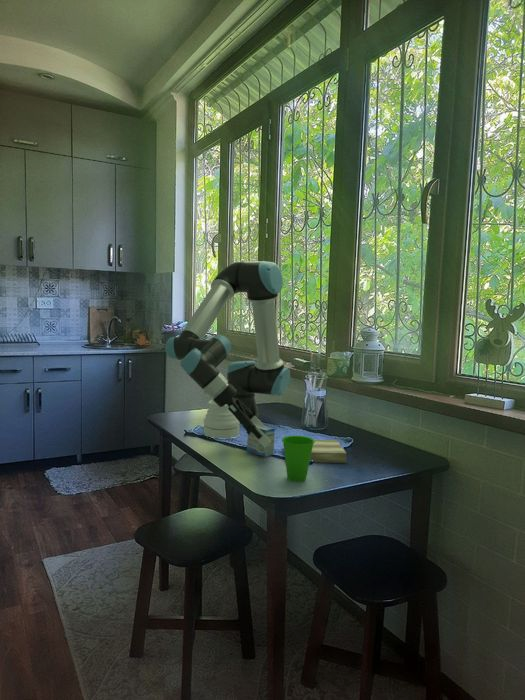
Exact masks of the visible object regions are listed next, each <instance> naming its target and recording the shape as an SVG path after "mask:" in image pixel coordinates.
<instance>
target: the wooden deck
mask: <svg viewBox="0 0 525 700" xmlns="http://www.w3.org/2000/svg"><path fill="white" fill-rule="evenodd" d="M314 441H315V443H313V448H312V452H311V457H310V460H313V461H314V462H313V463H338V464H339V463H341V464H342V463H344V464H346V463H347V451H346V450H345V448H343V446H342V445H341V444H340V442H339V441H338V440H337V439H314ZM283 447H284V444H283V446H282V448H283Z"/></svg>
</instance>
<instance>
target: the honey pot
mask: <svg viewBox="0 0 525 700" xmlns="http://www.w3.org/2000/svg"><path fill="white" fill-rule="evenodd" d="M213 398H214V397H212V399H211V400H208V401H207V403H208V406H209V407H208V409H207V410H206V414H205V417H204V419H203V435H204V434H205V435H207V436H209V437H214V438H231V437H236V436H238V435H239V436H240V424H241V423H240V422H239V421H238V420H237V418H236V417H235V416H234V415H233V414H232V413H231V411H229V409H228V408H229V406H228V405H227V404H225V405H224V406H223V407H219V406H218V405H217V404H216V403H215V402H214V401H213ZM239 436H238V437H239ZM236 438H237V437H236Z"/></svg>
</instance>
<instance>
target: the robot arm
mask: <svg viewBox="0 0 525 700" xmlns="http://www.w3.org/2000/svg"><path fill="white" fill-rule="evenodd" d="M283 280H284V279H283V273H282V270H281V268H280V267H279V266H278V264H277V263H275V262H272V261H265V260H261V261H256V260H255V261H236V262H233V263H231V264H230V265H228V266H226V267H225V268H223V269H222V270H221V271H219V273H218V274H217V275H216V276H215V277H214V278H213V280H212V282H211V283H210V289H209V291H208V293H207V294H206V295H205V296H204V298H203V300H202V301H201V303H200V304H199V306H198V307H197V309H196V310H195V312H194V313H193V315H192V316H191V318H190V319H189V320H188V322H187V323H186V325H185V326H184V328H183V329H182V331H181V332H180V334H179V335H178V336H171V337H170V338H168V339H167V340H166V343H165V347H164V348H165V353H166V355H167V357H169V359H173V360H179V365H180V367H181V368H182V369H183V371H184V372H185V373H186V374H187V375H188V376H189V377H190V378H191V379H192V380H193V382H195V383H196V384H197V385H198V386H199V387H200V389H202V390H203V394H204V395H208V396H209V398H212V399H213V401H214V402H215V403H216V404H217V405H218V406H219V407H223V406H224V405H225V404H227V405H228V406H229V408H228V409H229V411H231V413H232V414H233V415H234V416H235V417H236V418H237V420H238V421H239V422H240V423H239V424H241V426H242V427H243V428H244V429H245V431H246V432H245V433H246V434H247V435H248V434H250V433H251V434H252V435H253V436H254V437H255V438H256V439H257V440H258V442H259V443H260V444H261V445H262V446H263V447H264V448H265V447H266V446H267V445H268V444H269V443H270V442H271V441H270V440H269V439H268V438H267V437H266V436H265V434H264V433H263V432H262V431H261V430H260V429H259V428H258V427H257V426H255V425H254V424H258V425H262V426H265V425H264V424H263V422H262V421H261V420H260V419H258V417H259V409H258V405H257V401H256V398H255V394H257V395H265V396H271V397H281V396H283V395H285V393H286V392H287V390H288V388H289V386H290V381H291V371H290V369H289V368H288V367H285V362H284V360H283V359H281V358H280V348H279V339H278V338H279V337H278V327H277V315H276V314H277V313H276V305H275V301H276V299H277V298H278V297H279V293H280V292H281V291H282V288H283V285H284V283H283V282H284V281H283ZM238 293H244V294H245V293H246V298H247V300H248V301H249V302H250V303H251V306H252V307H251V308H252V315H253V325H254V333H255V334H254V335H255V344H256V354H257V360H239V361H234V362H233V361H232V362H230V363H228V366H227V372H226V374H227V375H226V377H227V378H226V377H225V376H224V375H223V374H222V373H221V372H220V371H219V370H218V366H219V365H220V364H221V363H222V362H223V361H224V360H225V359H226V358H227V357H228V355H229V354H230V352H231V351H232V344H231V341H230V340H229V339H228V337H226V336H225V335H222V334H217V335H214V336H213V337H212V338H211V339H204V338H205V337H206V335H207V333H208V332H209V330H210V329H211V327H212V326H213V324H214V323H215V321H216V320H217V317H218V316H219V315H220V313H221V312H222V311H223V308H224V306H225V305H226V303H227V302H228V301H229V300H232V299H233V297H234V296H235V295H236V294H238ZM213 397H214V398H213Z"/></svg>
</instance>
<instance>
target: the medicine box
mask: <svg viewBox="0 0 525 700" xmlns="http://www.w3.org/2000/svg"><path fill="white" fill-rule="evenodd" d="M254 425H255V426H257V427H258V428H259V429H260V430H261V431H262V432H263V433H264V434H265V436H266V437H267V438H268V439H269V440H270V441H271V442H270V443H269V444H268V445H267V446H266V447H265V448H264V447H263V446H262V445H261V444H260V443H259V442H258V440H257V439H256V438H255V437H254V436H253V435H252V434H251V433H250V434H247V441H246V443H247V444H246V452H247V453H250V454H253V455H257V456H260V457H264V458H266V457H270V456H273V455H275V454H274V453H275V435H276V434H275V432H276V428H273V427H269V426H265V425H264V426H262V425H258V424H254Z"/></svg>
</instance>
